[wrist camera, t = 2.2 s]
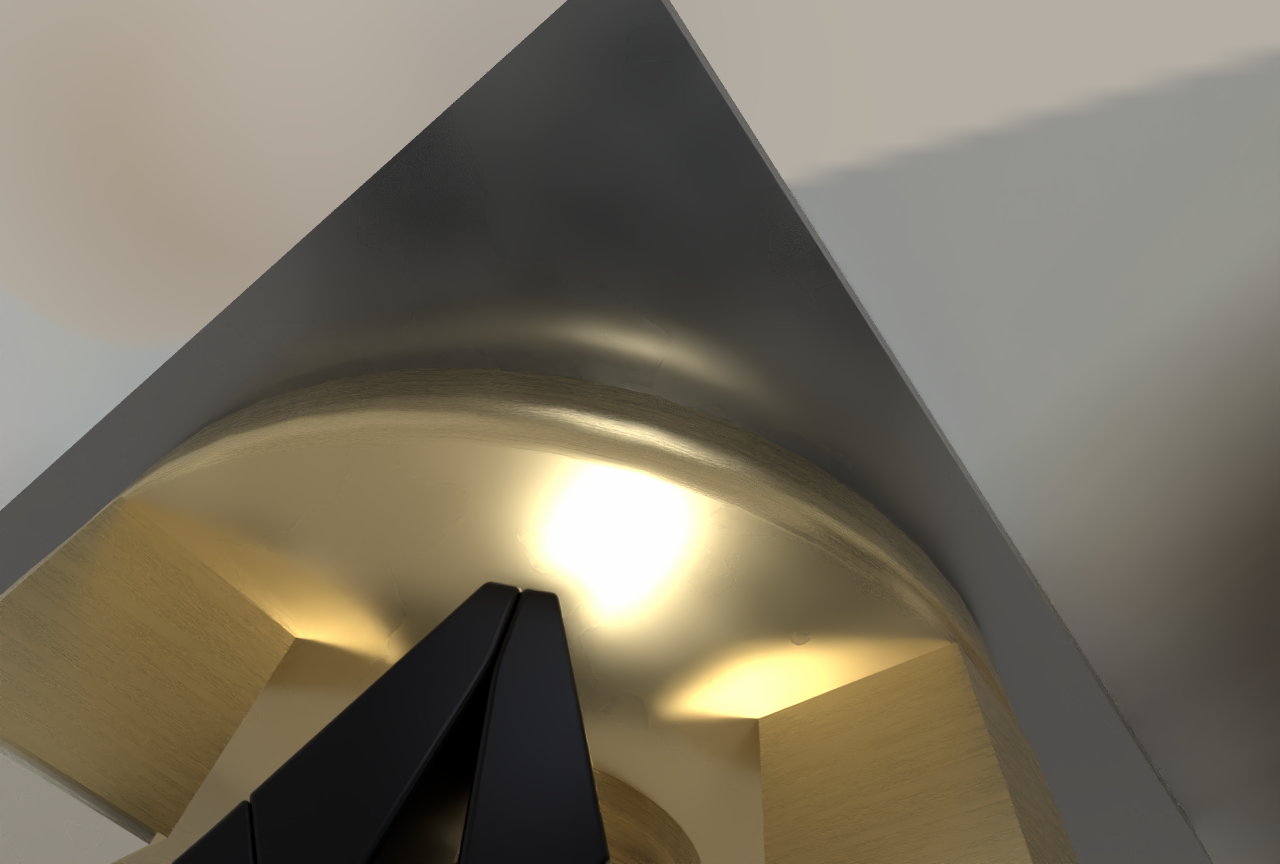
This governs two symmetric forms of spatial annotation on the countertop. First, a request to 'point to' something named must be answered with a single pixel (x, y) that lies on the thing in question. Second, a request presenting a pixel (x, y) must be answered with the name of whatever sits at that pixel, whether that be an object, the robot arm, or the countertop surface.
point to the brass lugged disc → (529, 558)
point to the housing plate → (631, 345)
